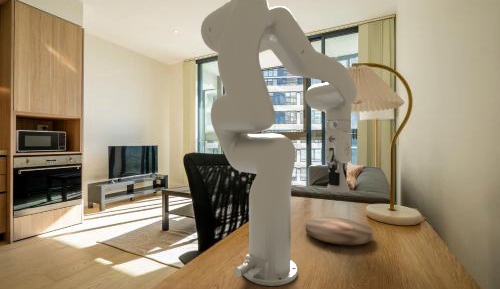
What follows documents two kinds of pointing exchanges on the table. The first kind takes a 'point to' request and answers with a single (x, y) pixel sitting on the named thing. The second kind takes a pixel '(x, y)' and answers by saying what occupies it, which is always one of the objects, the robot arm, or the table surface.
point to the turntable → (339, 230)
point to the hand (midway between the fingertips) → (337, 183)
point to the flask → (343, 183)
